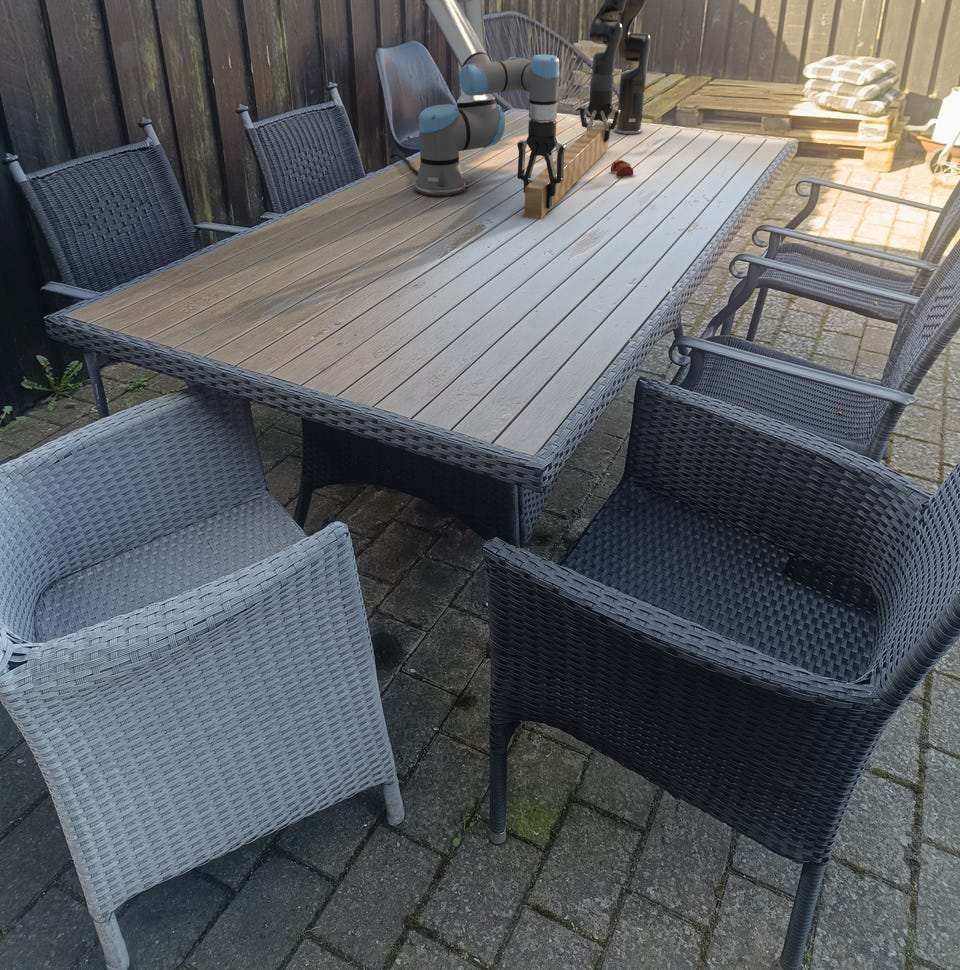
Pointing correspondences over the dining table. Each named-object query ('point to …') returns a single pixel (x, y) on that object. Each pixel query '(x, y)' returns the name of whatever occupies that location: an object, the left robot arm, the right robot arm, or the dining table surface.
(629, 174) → the dark red rounded lump
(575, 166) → the bar
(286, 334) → the dining table surface
